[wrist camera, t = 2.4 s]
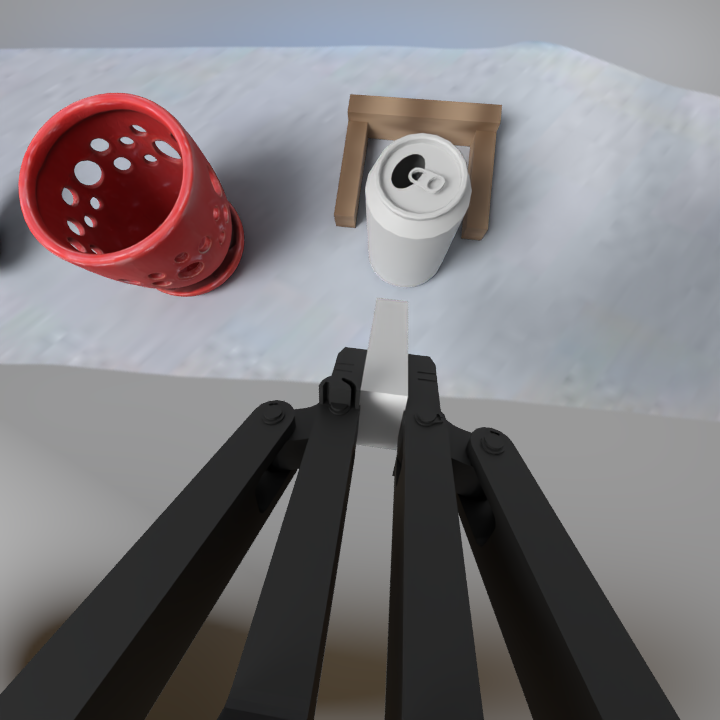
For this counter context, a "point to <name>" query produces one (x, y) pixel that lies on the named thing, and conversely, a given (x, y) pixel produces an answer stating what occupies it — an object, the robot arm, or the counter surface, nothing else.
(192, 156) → the plant pot
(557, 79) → the counter surface
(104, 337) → the counter surface
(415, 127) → the walnut frame
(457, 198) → the can
